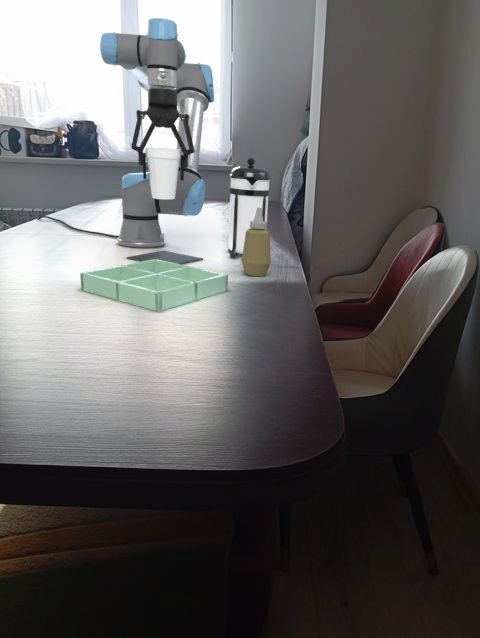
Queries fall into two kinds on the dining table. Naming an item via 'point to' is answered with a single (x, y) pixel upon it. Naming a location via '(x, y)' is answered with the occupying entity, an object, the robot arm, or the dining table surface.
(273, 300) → the dining table surface
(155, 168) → the foam cup
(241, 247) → the coffee press
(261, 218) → the squeeze bottle
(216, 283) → the divided sorting tray
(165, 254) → the mat
